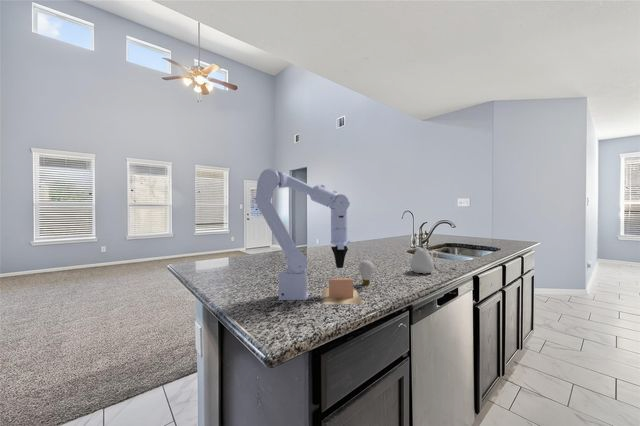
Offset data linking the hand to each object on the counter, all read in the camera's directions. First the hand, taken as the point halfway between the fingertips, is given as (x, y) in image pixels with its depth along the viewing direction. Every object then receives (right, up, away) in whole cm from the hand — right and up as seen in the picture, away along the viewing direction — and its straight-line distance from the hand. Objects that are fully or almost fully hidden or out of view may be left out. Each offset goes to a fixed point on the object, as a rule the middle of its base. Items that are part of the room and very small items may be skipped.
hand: (339, 267), depth 95 cm
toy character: (+41, -9, +32) cm, 53 cm away
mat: (0, -9, -3) cm, 10 cm away
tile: (0, -9, -5) cm, 10 cm away
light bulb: (+11, -9, +10) cm, 17 cm away
